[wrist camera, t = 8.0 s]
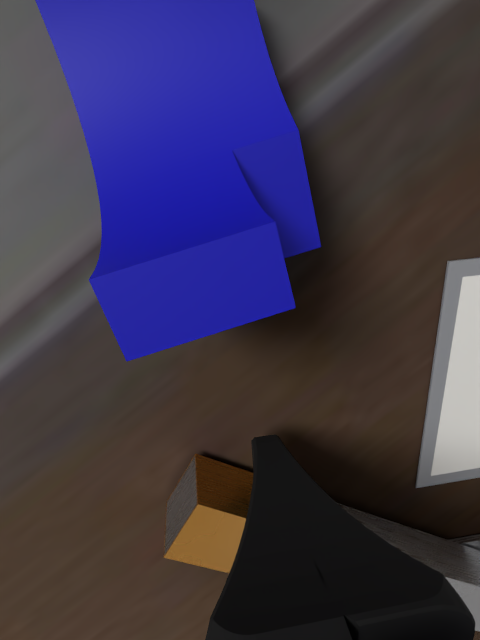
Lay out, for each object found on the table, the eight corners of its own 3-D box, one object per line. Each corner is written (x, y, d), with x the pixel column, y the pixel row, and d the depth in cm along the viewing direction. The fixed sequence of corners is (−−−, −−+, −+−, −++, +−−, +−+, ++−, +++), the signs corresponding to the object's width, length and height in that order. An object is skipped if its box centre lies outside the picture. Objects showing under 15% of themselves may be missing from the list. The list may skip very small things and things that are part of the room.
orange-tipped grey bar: (548, 559, 20) (592, 606, 18) (497, 608, 21) (533, 657, 19) (204, 438, 14) (208, 487, 12) (158, 515, 15) (154, 572, 13)
